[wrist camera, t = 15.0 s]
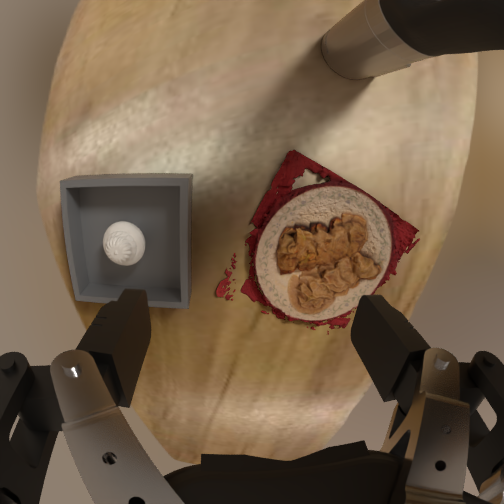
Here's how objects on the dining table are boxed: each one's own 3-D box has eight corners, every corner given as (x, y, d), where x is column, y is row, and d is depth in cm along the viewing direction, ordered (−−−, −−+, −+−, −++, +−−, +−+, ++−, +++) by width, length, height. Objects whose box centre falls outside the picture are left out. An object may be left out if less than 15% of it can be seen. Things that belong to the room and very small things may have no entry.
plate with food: (288, 147, 38) (293, 147, 35) (415, 228, 44) (426, 234, 41) (214, 289, 46) (213, 301, 42) (343, 338, 52) (349, 349, 48)
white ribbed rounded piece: (123, 261, 40) (108, 282, 33) (105, 225, 38) (85, 241, 31) (158, 246, 40) (147, 266, 33) (140, 208, 37) (124, 221, 31)
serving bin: (192, 173, 37) (188, 178, 33) (191, 291, 44) (188, 308, 39) (76, 175, 35) (59, 180, 31) (87, 285, 42) (75, 300, 37)
